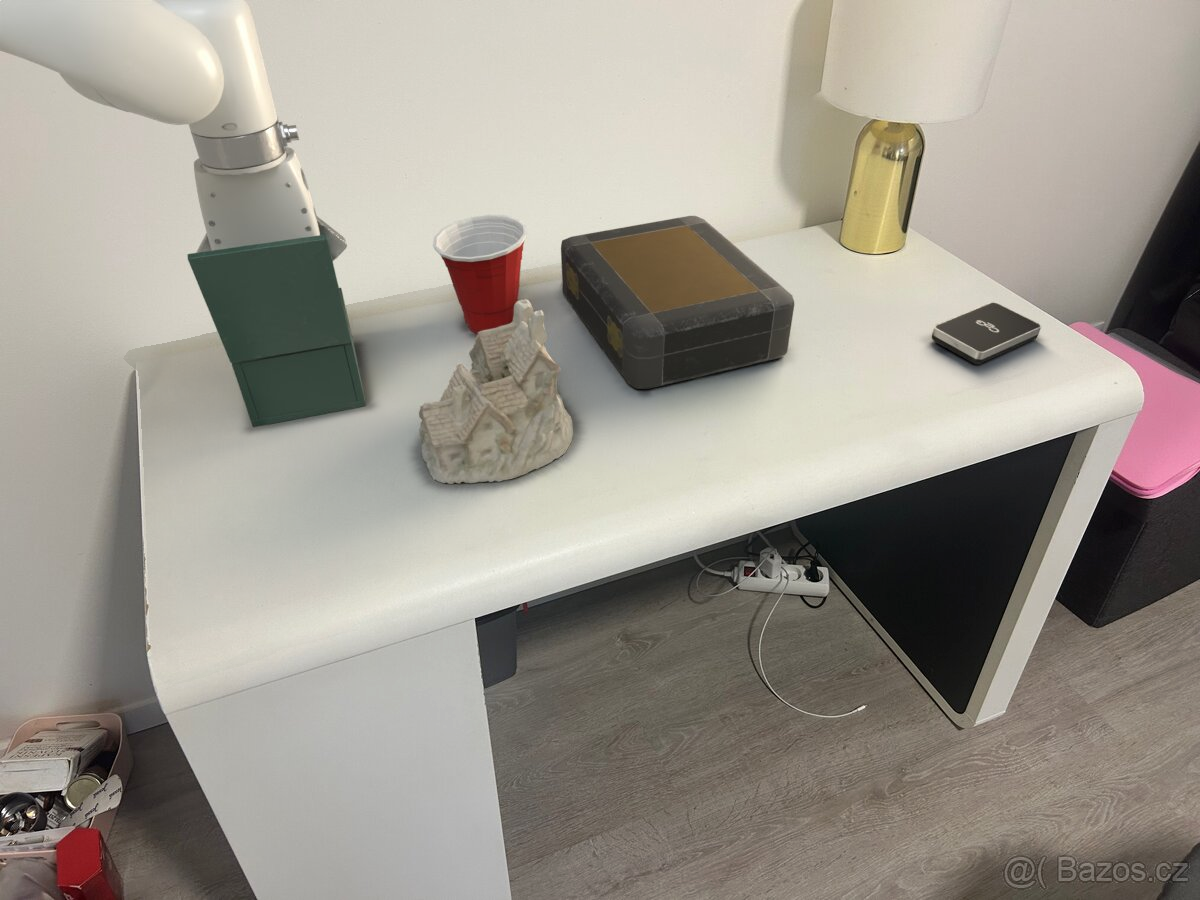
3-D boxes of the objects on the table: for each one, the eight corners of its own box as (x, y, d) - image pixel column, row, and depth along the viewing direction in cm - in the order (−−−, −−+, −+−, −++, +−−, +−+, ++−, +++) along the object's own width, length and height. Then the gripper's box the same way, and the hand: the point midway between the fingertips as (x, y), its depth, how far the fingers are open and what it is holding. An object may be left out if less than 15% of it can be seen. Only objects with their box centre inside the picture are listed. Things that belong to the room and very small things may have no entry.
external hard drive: (1038, 340, 99) (1043, 325, 98) (975, 369, 95) (980, 354, 94) (989, 315, 104) (993, 301, 103) (926, 341, 99) (930, 326, 98)
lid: (187, 253, 72) (187, 259, 72) (326, 233, 75) (327, 239, 75) (230, 358, 83) (230, 363, 83) (350, 337, 86) (351, 342, 85)
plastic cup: (438, 309, 106) (424, 219, 99) (522, 296, 109) (515, 207, 101) (453, 354, 98) (439, 260, 91) (543, 339, 101) (537, 245, 93)
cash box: (796, 357, 97) (806, 297, 92) (634, 395, 92) (635, 334, 87) (699, 264, 115) (703, 210, 110) (558, 291, 110) (556, 236, 105)
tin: (251, 364, 97) (232, 304, 92) (354, 346, 100) (341, 287, 95) (253, 427, 88) (231, 364, 83) (366, 405, 91) (352, 343, 86)
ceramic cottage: (552, 373, 95) (537, 253, 85) (589, 469, 83) (576, 343, 73) (413, 402, 92) (381, 282, 82) (430, 505, 80) (395, 380, 70)
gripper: (332, 121, 82) (367, 289, 93) (143, 142, 78) (204, 315, 89) (339, 147, 76) (375, 322, 88) (135, 171, 72) (201, 351, 84)
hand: (288, 316), depth 89 cm, fingers closed on block, 5 cm apart
